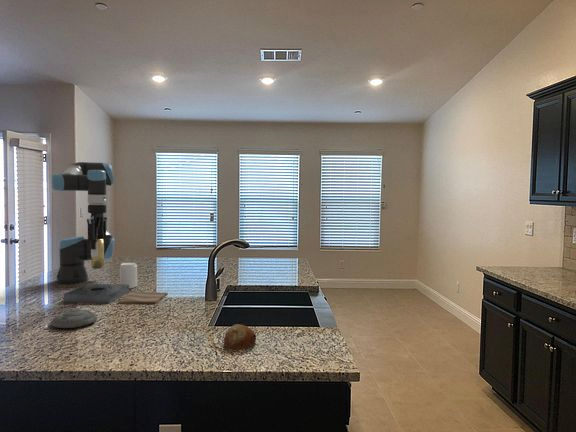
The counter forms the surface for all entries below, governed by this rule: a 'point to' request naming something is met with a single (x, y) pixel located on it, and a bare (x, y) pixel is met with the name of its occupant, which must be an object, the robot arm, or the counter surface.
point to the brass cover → (99, 256)
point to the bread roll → (239, 337)
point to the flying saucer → (73, 319)
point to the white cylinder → (128, 274)
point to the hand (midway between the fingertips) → (97, 255)
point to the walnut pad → (143, 298)
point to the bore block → (96, 293)
